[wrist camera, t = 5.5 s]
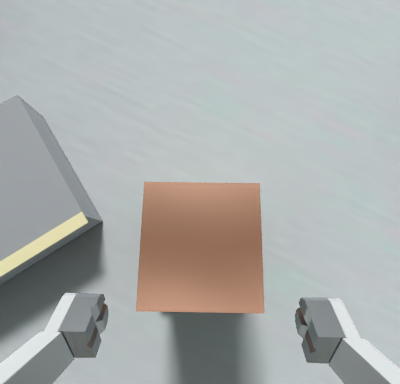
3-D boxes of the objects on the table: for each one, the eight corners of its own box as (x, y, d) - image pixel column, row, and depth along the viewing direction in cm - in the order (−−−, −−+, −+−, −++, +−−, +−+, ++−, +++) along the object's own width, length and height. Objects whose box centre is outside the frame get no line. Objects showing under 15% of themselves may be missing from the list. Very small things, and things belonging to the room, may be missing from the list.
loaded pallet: (241, 292, 18) (279, 331, 9) (160, 291, 18) (120, 328, 9) (240, 206, 19) (271, 169, 11) (164, 205, 19) (133, 167, 11)
